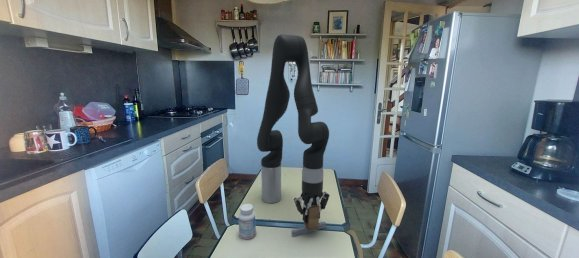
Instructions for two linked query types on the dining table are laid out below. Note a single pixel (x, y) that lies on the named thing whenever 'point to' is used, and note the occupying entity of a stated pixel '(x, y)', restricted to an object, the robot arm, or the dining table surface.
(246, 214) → the pill bottle
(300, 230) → the rail
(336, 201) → the dining table surface
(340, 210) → the dining table surface
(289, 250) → the dining table surface
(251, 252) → the dining table surface
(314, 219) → the walnut block
